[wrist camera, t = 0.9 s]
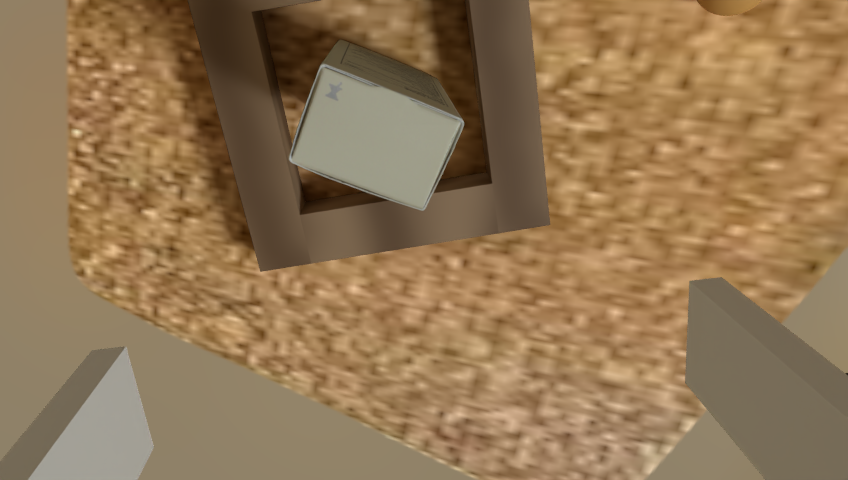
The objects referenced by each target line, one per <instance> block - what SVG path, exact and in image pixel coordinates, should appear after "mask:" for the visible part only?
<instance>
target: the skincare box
mask: <svg viewBox="0 0 848 480" xmlns="http://www.w3.org/2000/svg"><path fill="white" fill-rule="evenodd" d="M463 127H464V121H463V119H462V118H461V116H460V115H459V113H458V111H457V110H456V108H455V107H454V105H453V103H452V102H451V100H450V98H449V97H448V95H447V94H446V92H445V90H444V89H443V87H442V86H441V84H440V82H439V81H438V79H436V78H434V77H432V76H430V75H428V74H426V73H424V72H421V71H419V70H417V69H414V68H412V67H410V66H407V65H405V64H403V63H400V62H398V61H395V60H393V59H390V58H388V57H386V56H383V55H381V54H378V53H376V52H373V51H371V50H368V49H365V48H363V47H360V46H357V45H355V44H352V43H349V42H347V41H344V40H338V42H337V43H336V44H335V46H334V47H333V48H332V50H331V51H330V52H329V54H328V55H327V57H326V58H325V60H324V61H323V62H322V64H321V65H320V67H319V70H318V72H317V75H316V78H315V80H314V83H313V86H312V88H311V91H310V93H309V96H308V99H307V102H306V105H305V107H304V110H303V113H302V116H301V119H300V122H299V125H298V128H297V131H296V134H295V137H294V141H293V144H292V147H291V151H290V154H289V161H290V162H291V163H293V164H295V165H298V166H300V167H302V168H304V169H307V170H309V171H311V172H314V173H316V174H319V175H321V176H323V177H326V178H329V179H331V180H334V181H337V182H339V183H342V184H345V185H348V186H350V187H353V188H356V189H359V190H361V191H364V192H367V193H370V194H373V195H375V196H378V197H381V198H384V199H387V200H390V201H393V202H396V203H399V204H402V205H405V206H409V207H412V208H415V209H418V210H421V211H423V210H425V209H426V207H427V205H428V203H429V201H430V198H431V196H432V194H433V192H434V190H435V188H436V186H437V184H438V182H439V180H440V178H441V176H442V174H443V172H444V170H445V167H446V165H447V163H448V161H449V158H450V157H451V155H452V152H453V150H454V148H455V145H456V143H457V141H458V139H459V136H460V134H461V132H462V130H463Z"/></svg>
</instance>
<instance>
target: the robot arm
mask: <svg viewBox="0 0 848 480" xmlns="http://www.w3.org/2000/svg"><path fill="white" fill-rule="evenodd" d="M685 383H686V384H687V385H688V387H689V388H690V389H691V390H692V391H693V393H694V394H695V395H696V396H697V398H698V399H699V400H700V401H701V402H702V404H703V405H704V406H705V407H706V408H707V410H708V411H709V412H710V413H711V414H712V416H713V417H714V418H715V419H716V421H717V422H718V423H719V424H720V425H721V427H722V428H723V429H724V430H725V431H726V433H727V434H728V435H729V436H730V437H731V439H732V440H733V441H734V442H735V443H736V445H737V446H738V447H739V448H740V450H741V451H742V452H743V453H744V454H745V456H746V457H747V458H748V459H749V460H750V461H751V463H752V464H753V465H754V466H755V467H756V469H757V470H758V471H759V473H760V474H761V475H762V476H763V477H764V479H765V480H848V373H844V372H843V371H841V370H840V369H839V368H837V367H836V366H835V365H833V364H832V363H831V362H830V361H828V360H827V359H826V358H824V357H823V356H822V355H821V354H819V353H818V352H817V351H816V350H814V349H813V348H812V347H810V346H809V345H808V344H807V343H805V342H804V341H803V340H801V339H800V338H799V337H798V336H796V335H795V334H794V333H792V332H791V331H790V330H789V329H787V328H786V327H785V326H783V325H782V324H781V323H780V322H778V321H777V320H776V319H774V318H773V317H772V316H771V315H769V314H768V313H767V312H765V311H764V310H763V309H762V308H760V307H759V306H758V305H756V304H755V303H754V302H753V301H751V300H750V299H749V298H747V297H746V296H745V295H744V294H742V293H741V292H740V291H738V290H737V289H736V288H735V287H733V286H732V285H731V284H729V283H728V282H727V281H726V280H724V279H723V278H722V277H720V278H711V279H702V280H694V281H690V283H689V306H688V330H687V353H686V376H685ZM153 448H154V446H153V443H152V439H151V436H150V432H149V428H148V425H147V421H146V417H145V414H144V410H143V407H142V403H141V400H140V395H139V392H138V388H137V385H136V381H135V378H134V374H133V370H132V367H131V363H130V360H129V356H128V352H127V349H126V347H118V348H109V349H100V350H92V351H91V352H90V354H89V355H88V356H87V357H86V358H85V360H84V361H83V362H82V363H81V364H80V366H79V367H78V368H77V369H76V371H75V372H74V373H73V374H72V375H71V377H70V378H69V379H68V380H67V381H66V383H65V384H64V385H63V386H62V388H61V389H60V390H59V391H58V392H57V393H56V395H55V396H54V397H53V398H52V400H51V401H50V402H49V403H48V404H47V406H46V407H45V408H44V409H43V411H42V412H41V413H40V414H39V415H38V416H37V418H36V419H35V420H34V421H33V423H32V424H31V425H30V426H29V427H28V429H27V430H26V431H25V432H24V433H23V435H22V436H21V437H20V438H19V439H18V441H17V442H16V443H15V444H14V445H13V447H12V448H11V449H10V450H9V452H8V453H7V454H6V455H5V456H4V458H3V459H2V460H1V461H0V480H137V479H138V477H139V476H140V474H141V471H142V470H143V467H144V466H145V464H146V462H147V460H148V458H149V456H150V454H151V452H152V450H153Z"/></svg>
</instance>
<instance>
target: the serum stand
mask: <svg viewBox="0 0 848 480" xmlns="http://www.w3.org/2000/svg"><path fill="white" fill-rule="evenodd" d="M313 1H319V0H188V3H189V7H190V11H191V15H192V18H193V22H194V26H195V30H196V33H197V37H198V41H199V44H200V48H201V52H202V56H203V59H204V63H205V67H206V71H207V74H208V78H209V82H210V85H211V89H212V93H213V97H214V100H215V104H216V108H217V112H218V115H219V119H220V123H221V126H222V130H223V134H224V138H225V141H226V145H227V149H228V153H229V156H230V160H231V164H232V167H233V171H234V175H235V179H236V182H237V186H238V190H239V193H240V197H241V201H242V205H243V208H244V212H245V216H246V220H247V223H248V227H249V231H250V234H251V238H252V242H253V246H254V249H255V253H256V257H257V261H258V264H259V268H260V272H261V271H268V270H274V269H280V268H286V267H292V266H299V265H305V264H311V263H317V262H323V261H330V260H336V259H342V258H348V257H354V256H360V255H367V254H373V253H379V252H385V251H391V250H398V249H404V248H410V247H416V246H422V245H429V244H435V243H441V242H447V241H453V240H460V239H466V238H472V237H478V236H484V235H491V234H497V233H503V232H509V231H515V230H521V229H528V228H534V227H540V226H546V225H550V218H549V208H548V198H547V187H546V177H545V166H544V156H543V145H542V135H541V125H540V114H539V104H538V93H537V83H536V72H535V62H534V51H533V41H532V31H531V20H530V10H529V0H465V6H466V14H467V22H468V30H469V37H470V45H471V53H472V61H473V69H474V76H475V84H476V92H477V100H478V108H479V115H480V123H481V131H482V139H483V147H484V154H485V162H486V170H487V172H485V173H479V174H473V175H467V176H461V177H455V178H449V179H443V180H439V182H438V184H437V186H436V188H435V190H434V192H433V194H432V196H431V198H430V201H429V203H428V205H427V207H426V209H425V210H423V211H421V210H418V209H415V208H412V207H409V206H405V205H402V204H399V203H396V202H393V201H390V200H387V199H384V198H381V197H378V196H375V195H373V194H370V193H367V192H363V193H357V194H351V195H345V196H339V197H332V198H326V199H320V200H314V201H308V202H305V198H304V194H303V189H302V185H301V181H300V176H299V172H298V168H297V165H295V164H293V163H291V162H290V161H289V154H290V151H291V147H292V142H291V138H290V133H289V129H288V125H287V120H286V116H285V112H284V108H283V103H282V99H281V95H280V90H279V86H278V82H277V77H276V73H275V69H274V65H273V60H272V56H271V52H270V47H269V43H268V39H267V34H266V30H265V26H264V22H263V17H262V13H261V10H266V9H272V8H278V7H284V6H290V5H296V4H302V3H307V2H313Z"/></svg>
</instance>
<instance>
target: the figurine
mask: <svg viewBox="0 0 848 480" xmlns="http://www.w3.org/2000/svg"><path fill="white" fill-rule="evenodd" d="M761 1H762V0H697V2H698V3H699V4H700V5H701V6H702V7H703V8H704V9H706V10H707V11H709V12H711V13H713V14H716V15H721V16H733V15H738V14H741V13H744V12H746V11H749V10H750V9H752V8H754V7H755V6H756V5H758V4H759V3H760V2H761Z"/></svg>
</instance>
